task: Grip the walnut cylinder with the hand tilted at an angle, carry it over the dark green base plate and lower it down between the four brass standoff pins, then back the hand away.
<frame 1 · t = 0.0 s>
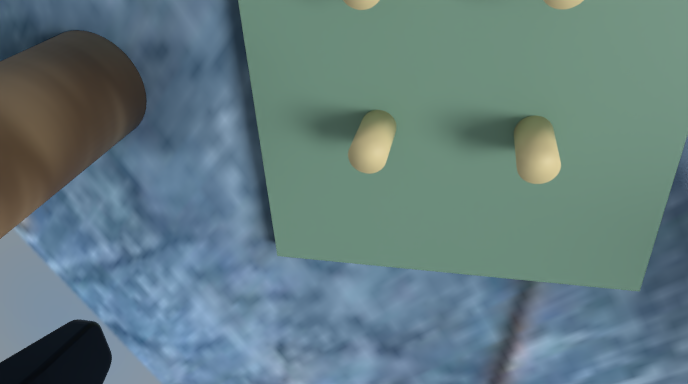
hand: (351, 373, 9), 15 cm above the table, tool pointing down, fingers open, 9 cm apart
standoff plate: (459, 46, 20), on the table
walnut cylinder: (94, 85, 25), on the table
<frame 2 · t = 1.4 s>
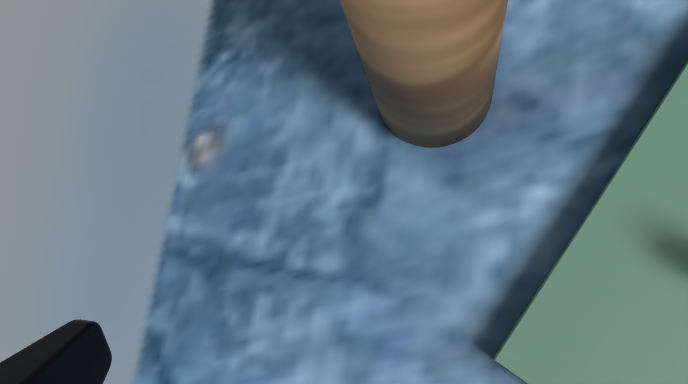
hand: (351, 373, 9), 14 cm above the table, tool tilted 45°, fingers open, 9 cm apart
walnut cylinder: (433, 93, 24), on the table
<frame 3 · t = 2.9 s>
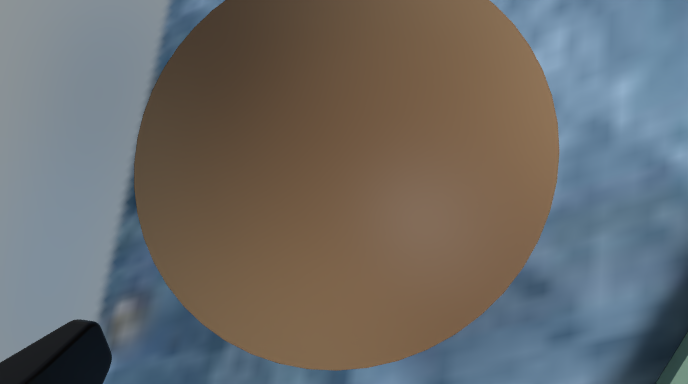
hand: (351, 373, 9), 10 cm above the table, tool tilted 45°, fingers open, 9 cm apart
walnut cylinder: (412, 264, 19), on the table
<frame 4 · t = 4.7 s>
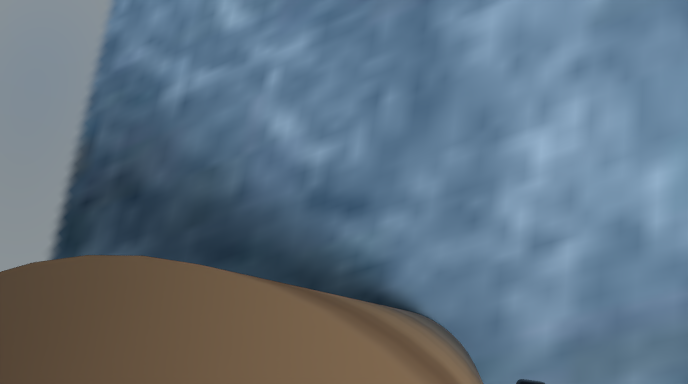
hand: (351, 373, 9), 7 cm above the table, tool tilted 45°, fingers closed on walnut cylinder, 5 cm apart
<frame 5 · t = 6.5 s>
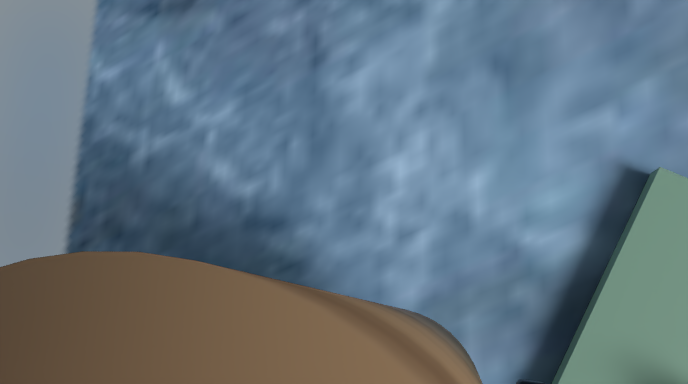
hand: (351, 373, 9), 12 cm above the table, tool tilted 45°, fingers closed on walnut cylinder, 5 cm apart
when the fingers open (9 cm above the table, at t = 8.8 s): walnut cylinder drops 1 cm, resting on standoff plate.
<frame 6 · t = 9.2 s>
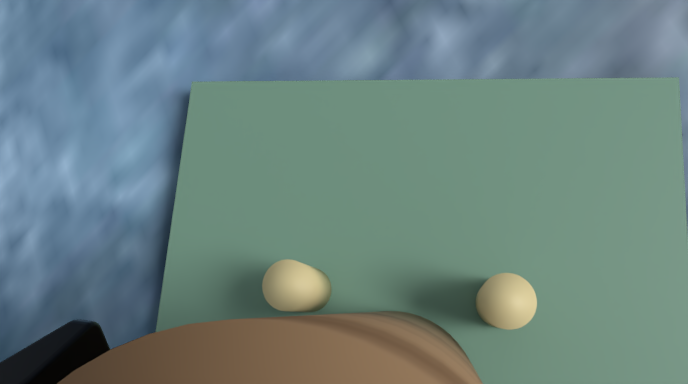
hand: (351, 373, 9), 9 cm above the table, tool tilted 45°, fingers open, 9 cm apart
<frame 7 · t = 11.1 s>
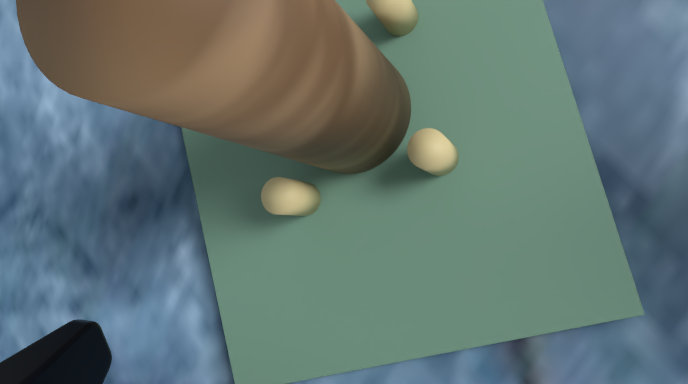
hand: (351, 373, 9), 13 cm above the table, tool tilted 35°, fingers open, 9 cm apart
standoff plate: (359, 115, 23), on the table
walnut cylinder: (350, 112, 22), point 1 cm above the table, touching standoff plate
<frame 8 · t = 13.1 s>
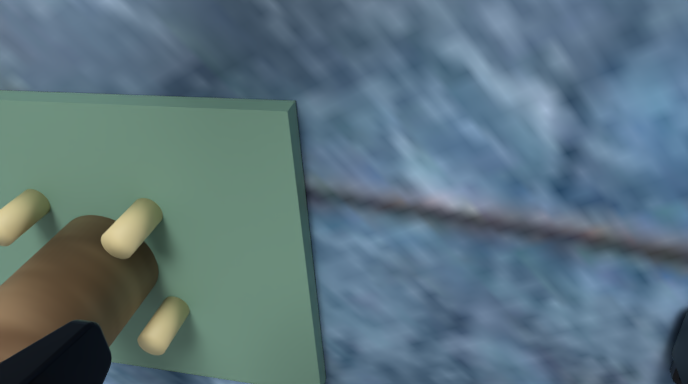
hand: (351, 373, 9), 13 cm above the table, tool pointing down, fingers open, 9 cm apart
standoff plate: (120, 243, 27), on the table
walnut cylinder: (110, 257, 27), point 1 cm above the table, touching standoff plate
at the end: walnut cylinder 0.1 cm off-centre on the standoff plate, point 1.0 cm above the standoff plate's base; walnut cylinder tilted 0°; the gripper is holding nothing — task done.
